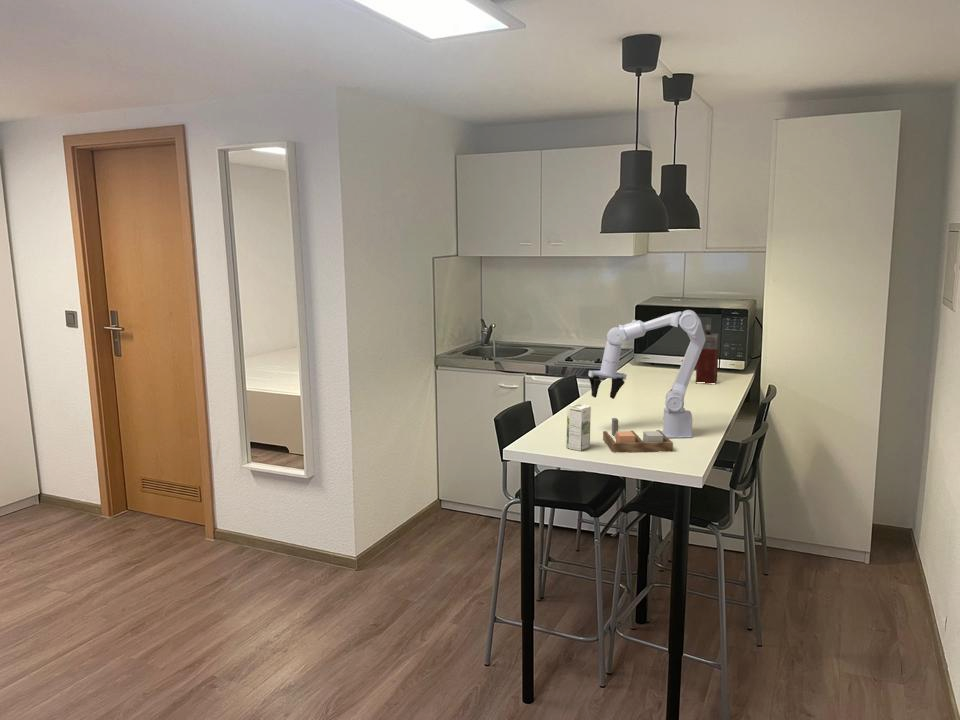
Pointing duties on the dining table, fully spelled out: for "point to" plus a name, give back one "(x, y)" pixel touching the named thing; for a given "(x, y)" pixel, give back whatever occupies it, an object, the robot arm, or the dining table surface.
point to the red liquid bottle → (708, 358)
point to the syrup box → (578, 427)
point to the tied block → (621, 433)
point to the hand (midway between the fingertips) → (602, 397)
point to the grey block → (652, 436)
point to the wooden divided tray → (638, 444)
